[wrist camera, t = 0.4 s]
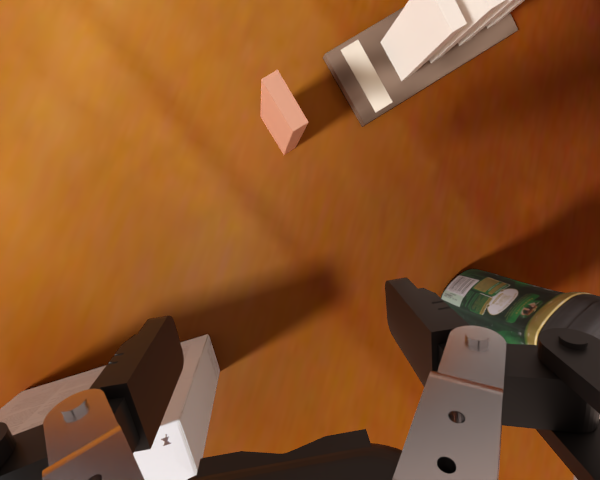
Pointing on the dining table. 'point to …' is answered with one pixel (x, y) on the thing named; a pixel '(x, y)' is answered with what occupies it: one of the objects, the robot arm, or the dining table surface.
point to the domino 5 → (505, 13)
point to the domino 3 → (468, 20)
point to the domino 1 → (281, 112)
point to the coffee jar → (519, 307)
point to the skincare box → (174, 427)
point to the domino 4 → (486, 21)
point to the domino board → (382, 75)
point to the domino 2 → (421, 33)
